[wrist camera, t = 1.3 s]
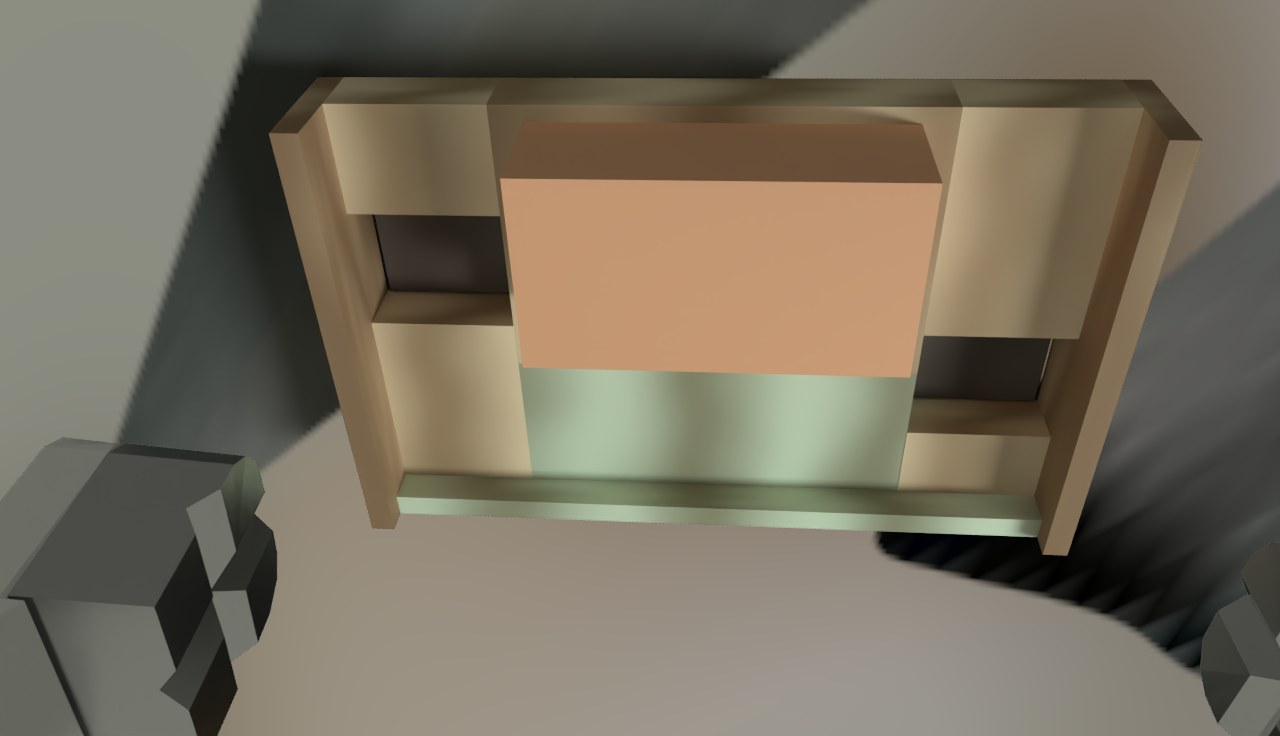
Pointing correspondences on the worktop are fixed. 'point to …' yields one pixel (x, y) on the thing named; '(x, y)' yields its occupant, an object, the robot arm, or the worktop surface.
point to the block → (720, 246)
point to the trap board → (738, 402)
